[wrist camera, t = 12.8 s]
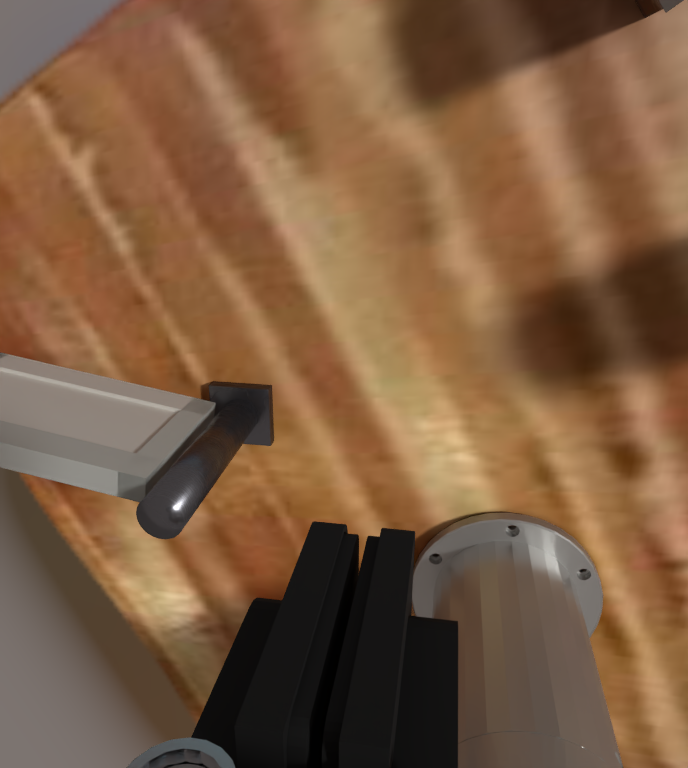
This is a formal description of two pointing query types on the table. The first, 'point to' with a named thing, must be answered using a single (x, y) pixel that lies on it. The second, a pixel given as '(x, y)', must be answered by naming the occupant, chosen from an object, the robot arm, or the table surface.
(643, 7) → the food container
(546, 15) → the table surface
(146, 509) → the hinge post
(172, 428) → the panel
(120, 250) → the table surface
